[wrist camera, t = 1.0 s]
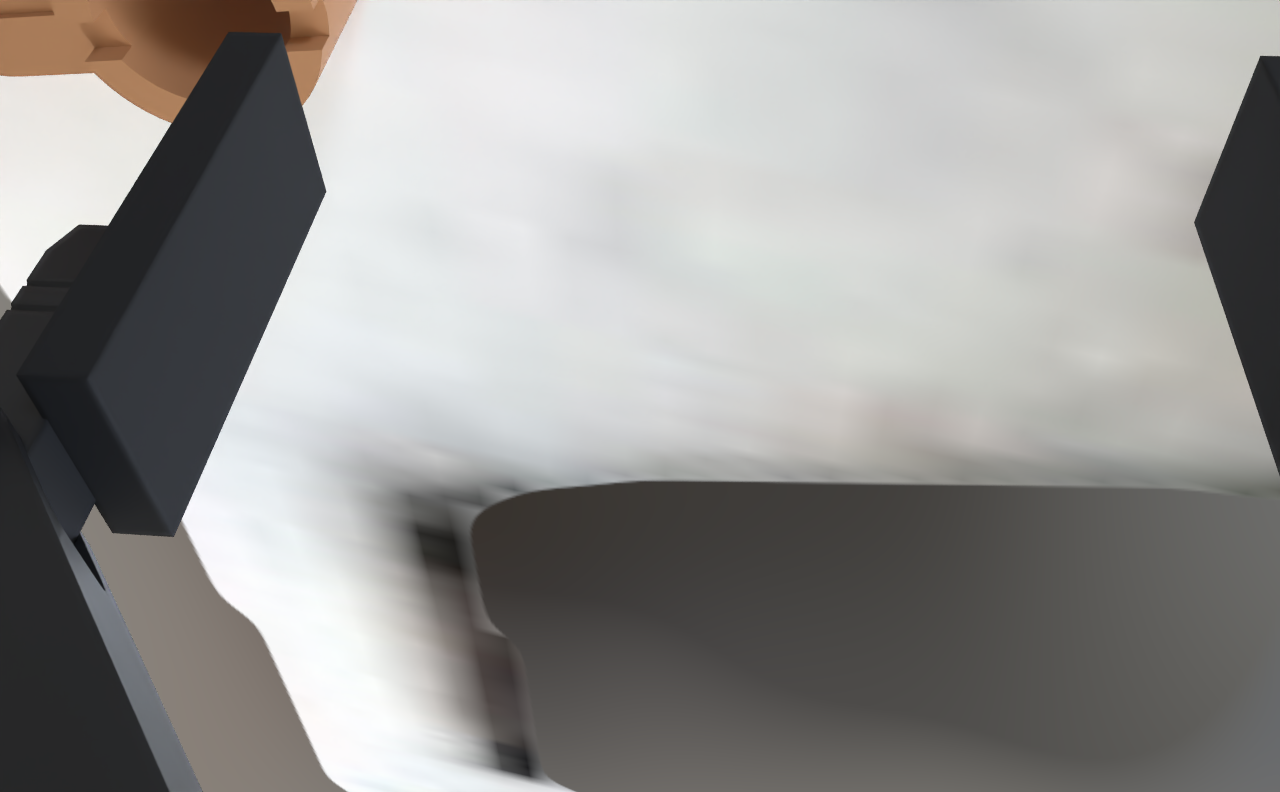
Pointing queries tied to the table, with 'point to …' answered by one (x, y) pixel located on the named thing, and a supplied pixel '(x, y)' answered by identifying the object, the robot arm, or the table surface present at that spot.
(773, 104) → the table surface
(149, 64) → the bracket
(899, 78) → the table surface
